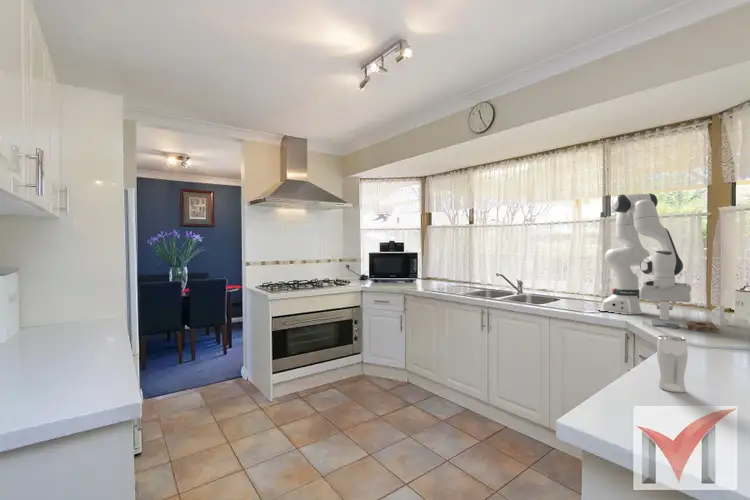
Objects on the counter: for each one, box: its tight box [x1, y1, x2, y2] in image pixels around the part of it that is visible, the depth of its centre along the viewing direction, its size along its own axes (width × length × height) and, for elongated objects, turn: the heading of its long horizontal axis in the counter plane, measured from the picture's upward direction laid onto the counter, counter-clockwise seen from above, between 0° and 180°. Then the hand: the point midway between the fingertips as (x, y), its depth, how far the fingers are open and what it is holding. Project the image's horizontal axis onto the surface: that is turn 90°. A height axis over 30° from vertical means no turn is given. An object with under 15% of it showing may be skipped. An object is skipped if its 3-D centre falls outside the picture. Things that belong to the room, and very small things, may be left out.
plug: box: [659, 301, 670, 321], centre depth 184 cm, size 4×5×9 cm
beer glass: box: [656, 334, 689, 394], centre depth 106 cm, size 7×7×15 cm
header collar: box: [685, 319, 718, 333], centre depth 176 cm, size 10×14×2 cm
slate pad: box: [651, 319, 679, 329], centre depth 185 cm, size 10×12×1 cm
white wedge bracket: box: [711, 305, 730, 326], centre depth 183 cm, size 4×10×9 cm, turn 168°
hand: (664, 309), depth 184 cm, fingers closed on plug, 3 cm apart
